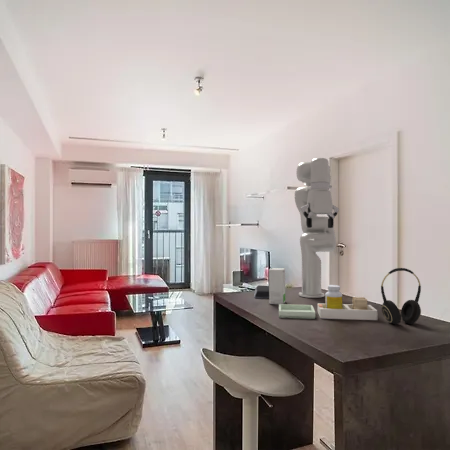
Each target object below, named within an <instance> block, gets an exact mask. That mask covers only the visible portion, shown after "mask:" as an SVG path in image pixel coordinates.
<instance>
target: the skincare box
mask: <svg viewBox="0 0 450 450" xmlns="http://www.w3.org/2000/svg"><path fill="white" fill-rule="evenodd" d="M268 286H269V300H268V302H269V304H270V305H277V306H279V304H286V302H285V301H286V268H284V267H283V268H282V267H281V268H277V267H274V268H269V269H268Z"/></svg>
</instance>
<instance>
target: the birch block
mask: <svg viewBox="0 0 450 450" xmlns="http://www.w3.org/2000/svg"><path fill="white" fill-rule="evenodd" d="M352 304H353V309H357V310H367V305H368V299H367V298H366V297H364V296H363V297H360V296H357V297H356V296H355V297H353V296H352Z"/></svg>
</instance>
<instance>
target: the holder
mask: <svg viewBox="0 0 450 450" xmlns="http://www.w3.org/2000/svg"><path fill="white" fill-rule="evenodd" d="M342 304H343V309H325V303H317V313H318V316H319V318H320V319H326V320H327V319H330V320H331V319H332V320H361V321H378V309H376V308H375V307H374V306H372V304H367V310H357V309H353V303H350V304H349V303H348V304H347V303H342Z"/></svg>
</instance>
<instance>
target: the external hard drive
mask: <svg viewBox="0 0 450 450" xmlns="http://www.w3.org/2000/svg"><path fill="white" fill-rule="evenodd" d="M253 298H254V299H267V298H269V285H261V284H259V285H258V284H257V285H256V287H255V290H254V294H253Z"/></svg>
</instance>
